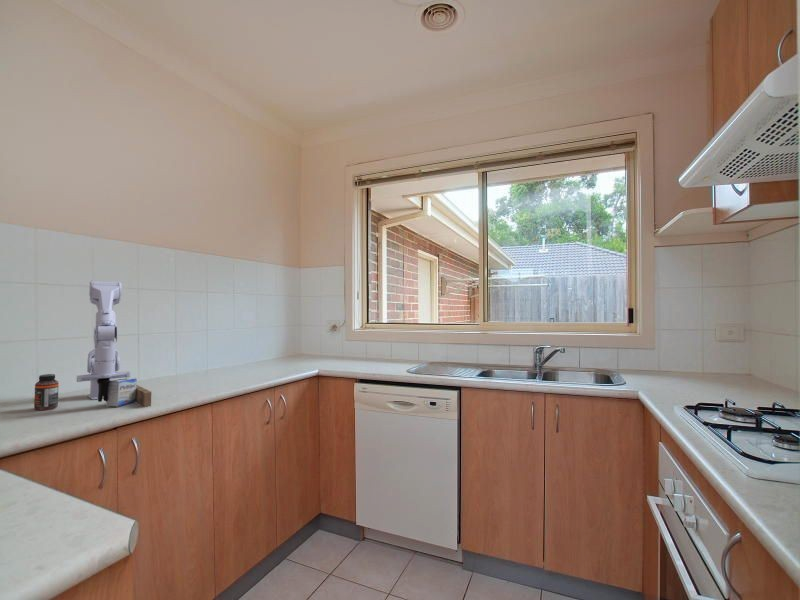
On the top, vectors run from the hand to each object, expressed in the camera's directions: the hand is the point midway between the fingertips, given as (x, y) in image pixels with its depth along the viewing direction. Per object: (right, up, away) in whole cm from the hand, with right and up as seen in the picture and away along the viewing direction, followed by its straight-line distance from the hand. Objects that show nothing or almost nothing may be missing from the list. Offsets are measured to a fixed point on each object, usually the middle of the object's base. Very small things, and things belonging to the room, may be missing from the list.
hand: (103, 400), depth 134 cm
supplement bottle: (-18, -2, -2) cm, 18 cm away
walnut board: (+7, -3, +8) cm, 11 cm away
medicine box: (+3, -2, +4) cm, 6 cm away
